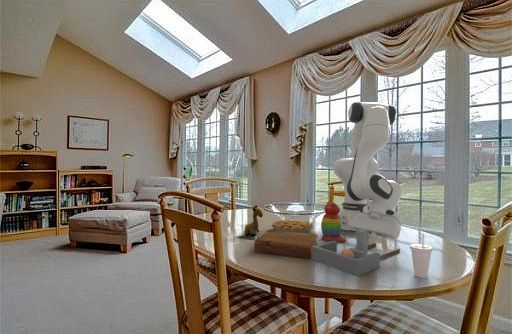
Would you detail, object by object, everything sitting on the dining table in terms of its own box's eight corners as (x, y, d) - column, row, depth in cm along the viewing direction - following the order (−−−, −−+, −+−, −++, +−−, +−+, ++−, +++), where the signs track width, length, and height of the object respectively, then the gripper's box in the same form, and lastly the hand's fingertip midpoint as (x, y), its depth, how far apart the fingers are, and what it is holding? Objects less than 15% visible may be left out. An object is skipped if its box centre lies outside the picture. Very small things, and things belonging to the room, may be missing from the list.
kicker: (345, 256, 112) (345, 230, 112) (358, 251, 118) (359, 227, 117) (363, 261, 106) (363, 234, 106) (377, 257, 111) (377, 230, 111)
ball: (340, 245, 108) (347, 250, 110) (335, 257, 106) (342, 262, 109) (351, 248, 104) (358, 253, 106) (346, 261, 102) (354, 266, 105)
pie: (317, 229, 158) (317, 220, 158) (307, 239, 138) (307, 228, 138) (279, 225, 167) (279, 216, 167) (265, 234, 148) (265, 224, 147)
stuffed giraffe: (260, 241, 135) (259, 207, 135) (228, 237, 144) (228, 205, 144) (275, 235, 148) (275, 204, 149) (246, 231, 158) (245, 202, 158)
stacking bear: (347, 242, 132) (347, 203, 132) (326, 243, 131) (326, 204, 130) (337, 236, 143) (337, 200, 142) (317, 237, 141) (317, 201, 141)
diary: (254, 254, 118) (254, 240, 118) (268, 242, 135) (268, 230, 135) (310, 260, 110) (310, 245, 110) (317, 246, 127) (317, 233, 127)
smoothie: (435, 280, 90) (436, 236, 90) (413, 278, 92) (413, 235, 91) (427, 272, 97) (428, 231, 96) (407, 271, 98) (407, 230, 97)
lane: (341, 255, 114) (341, 251, 114) (373, 245, 127) (373, 242, 127) (369, 264, 105) (369, 259, 104) (399, 252, 118) (399, 248, 118)
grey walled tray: (311, 259, 110) (311, 246, 110) (333, 252, 117) (333, 240, 117) (357, 276, 94) (357, 261, 93) (379, 267, 101) (379, 253, 101)
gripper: (354, 206, 126) (340, 232, 120) (401, 213, 109) (387, 243, 103) (360, 215, 128) (346, 241, 123) (406, 223, 112) (393, 253, 106)
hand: (365, 242), depth 113 cm, fingers closed, pressing on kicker
